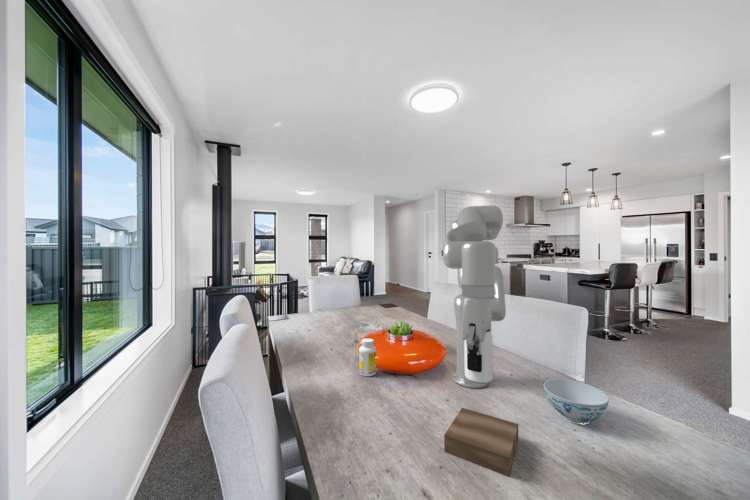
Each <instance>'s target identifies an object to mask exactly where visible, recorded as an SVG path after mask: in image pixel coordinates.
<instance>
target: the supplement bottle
mask: <svg viewBox="0 0 750 500" xmlns="http://www.w3.org/2000/svg"><path fill="white" fill-rule="evenodd" d="M358 349H359V350H358V356H359V357H358V360H359V361H358V363H359V364H358V366H359V367H358V369H359V375H361V376H362V377H373V376H375V375H376V374H377V372H378V371H377V368H378V367H376V365H377V362H376V363H375V357H376V358H377V347H376V346H375V345H374V339H373V338H363V339H361V346H360V347H359V348H358Z"/></svg>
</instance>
